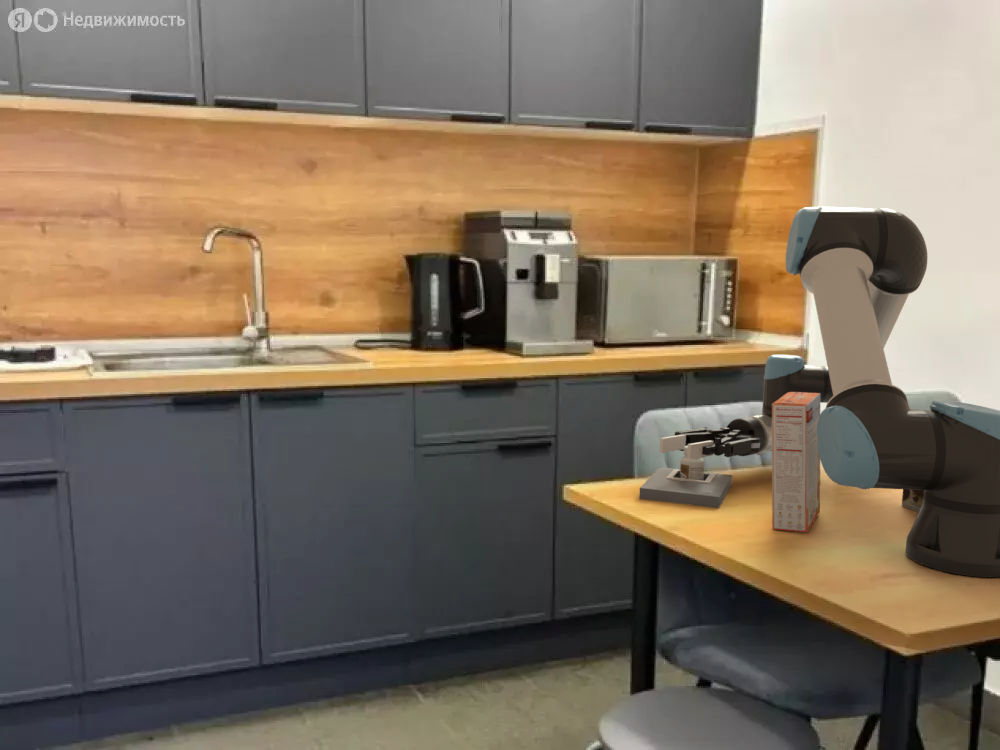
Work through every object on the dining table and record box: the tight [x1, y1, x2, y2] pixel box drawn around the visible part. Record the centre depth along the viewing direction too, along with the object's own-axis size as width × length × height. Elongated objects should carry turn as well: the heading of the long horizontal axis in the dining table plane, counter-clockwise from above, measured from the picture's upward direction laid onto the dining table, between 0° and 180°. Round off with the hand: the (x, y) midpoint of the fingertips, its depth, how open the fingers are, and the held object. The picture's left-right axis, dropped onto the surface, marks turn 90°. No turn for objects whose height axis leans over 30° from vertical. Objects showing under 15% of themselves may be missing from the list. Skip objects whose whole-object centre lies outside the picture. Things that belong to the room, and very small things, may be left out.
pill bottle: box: [679, 446, 705, 481], centre depth 178 cm, size 4×4×8 cm
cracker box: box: [771, 392, 821, 534], centre depth 155 cm, size 14×6×21 cm, turn 153°
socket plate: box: [638, 466, 733, 509], centre depth 175 cm, size 18×14×2 cm
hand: (675, 448), depth 174 cm, fingers open, 6 cm apart
